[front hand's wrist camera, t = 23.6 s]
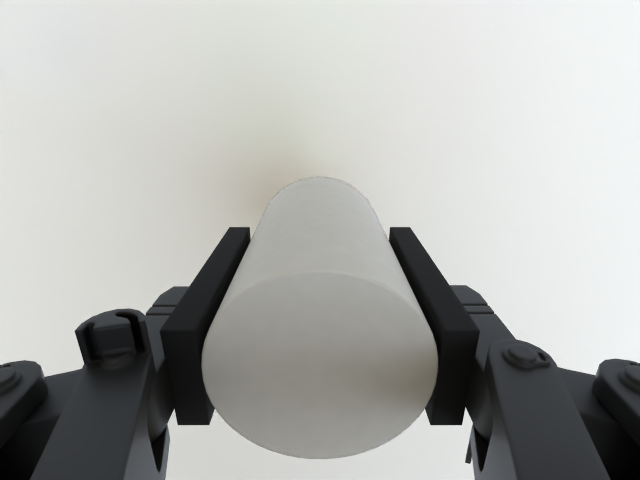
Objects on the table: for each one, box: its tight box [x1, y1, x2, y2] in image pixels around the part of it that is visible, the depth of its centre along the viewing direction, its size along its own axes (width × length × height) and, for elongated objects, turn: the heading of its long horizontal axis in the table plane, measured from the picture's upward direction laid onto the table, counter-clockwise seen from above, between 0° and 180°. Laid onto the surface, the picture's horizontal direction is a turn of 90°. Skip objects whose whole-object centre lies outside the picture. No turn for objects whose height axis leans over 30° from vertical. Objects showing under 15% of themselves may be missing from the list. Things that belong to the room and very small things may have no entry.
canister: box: [201, 177, 438, 459], centre depth 12 cm, size 5×5×9 cm
